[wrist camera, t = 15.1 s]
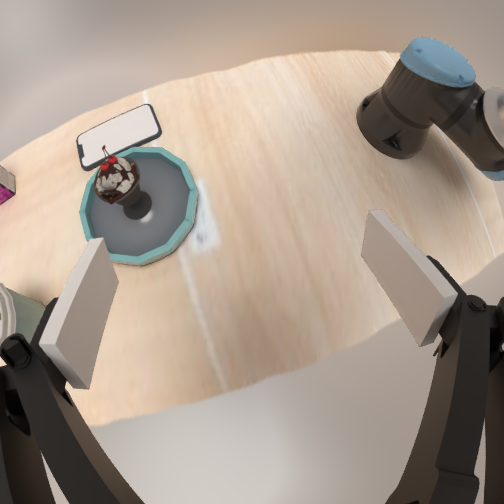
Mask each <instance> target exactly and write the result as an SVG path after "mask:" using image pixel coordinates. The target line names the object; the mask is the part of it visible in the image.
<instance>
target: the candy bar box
mask: <svg viewBox="0 0 504 504" xmlns="http://www.w3.org/2000/svg"><path fill="white" fill-rule="evenodd" d="M13 195H15V176H14V175H12V174H11V173H10V172H8V171H7V170H6V169H5V168H3V167H2V166H1V165H0V204H2V203H3V202H4V201H6V200H7V199H9V198H10V197H12V196H13Z"/></svg>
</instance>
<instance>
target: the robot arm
mask: <svg viewBox="0 0 504 504" xmlns="http://www.w3.org/2000/svg"><path fill="white" fill-rule="evenodd" d="M475 77H476V76H475V71H474V69H473V67H472V66H471V65H470V64H469V63H467V60H466V59H465V58H464V57H463V56H462V55H461V54H460V53H459V52H457V51H456V50H454V49H453V48H451V47H450V46H448V45H446V44H445V43H442V42H440V41H438V40H435V39H431V38H426V37H421V38H417V39H414V40H413V41H411V43H410V44H409V45H408V47H407V48H406V49H405V50H404V51H403V52H402V53H401V55H400V59H399V61H398V62H397V64H396V65H395V67H394V69H393V70H392V72H391V73H390V75H389V76H388V78H387V79H386V81H385V83H384V84H383V86H382V87H381V88H379V89H377V90H376V91H374V92H373V93H371V94H370V95H368V96H367V97H366V98H365V99H364V100H363V101H362V103H361V104H360V106H359V108H358V110H357V122H358V125H359V128H360V130H361V132H362V133H363V135H364V136H365V138H366V139H367V140H368V141H369V142H370V143H371V144H372V145H373V146H374V147H375V148H376V149H378V150H379V151H381V152H382V153H384V154H386V155H388V156H391V157H394V158H398V159H407V158H410V157H412V156H414V155H415V154H416V153H417V152H418V151H419V150H420V149H421V148H422V146H423V144H424V142H425V139H426V137H427V134H428V131H429V128H430V127H431V126H432V125H433V123H434V124H435V125H437V126H438V127H439V128H440V129H441V130H442V131H443V132H444V133H445V134H446V135H447V136H448V137H449V138H450V139H451V140H452V141H453V142H454V143H455V144H456V145H457V146H458V147H459V148H460V150H461V151H462V152H463V153H464V154H465V155H466V156H467V157H468V158H469V159H470V161H471V162H472V163H473V164H474V166H475V167H476V168H477V169H479V170H480V171H481V172H482V173H483V174H484V175H485V176H486V177H487V178H489V179H491V180H494V181H501V180H504V89H502V88H499V87H492V88H490V89H488V90H487V91H484V90H483V89H482V88H481V87H480V86H479V85H478V84H477V83H476V82H475ZM361 256H362V258H363V259H364V261H365V262H366V264H367V265H368V267H369V268H370V269H371V271H372V272H373V274H374V275H375V277H376V278H377V280H378V281H379V283H380V284H381V286H382V287H383V289H384V290H385V292H386V294H387V295H388V297H389V298H390V300H391V301H392V303H393V304H394V306H395V308H396V309H397V311H398V312H399V314H400V316H401V317H402V319H403V320H404V322H405V323H406V325H407V327H408V329H409V330H410V332H411V334H412V335H413V337H414V339H415V340H416V342H417V344H418V346H419V347H421V346H425V345H428V344H431V343H433V342H434V340H435V339H436V337H437V335H438V333H439V334H440V335H441V337H442V340H441V342H440V344H439V346H438V347H437V349H436V351H435V353H434V354H433V356H435V355H436V354H437V353H438V356H437V361H436V366H435V371H434V376H433V380H432V385H431V388H430V392H429V397H428V401H427V405H426V408H425V411H424V415H423V419H422V422H421V425H420V428H419V432H418V434H417V438H416V440H415V443H414V446H413V449H412V452H411V455H410V457H409V460H408V463H407V465H406V468H405V470H404V473H403V475H402V478H401V480H400V482H399V485H398V486H397V488H396V489H395V491H394V492H393V493H392V494H391V495H390V497H389V498H388V500H387V502H386V503H385V504H474V503H475V499H476V496H477V493H478V490H479V478H478V477H476V476H475V475H474V468H475V464H476V460H477V455H478V451H479V446H480V441H481V435H482V430H483V424H484V417H485V436H486V469H485V487H484V504H504V351H503V350H502V345H503V343H504V297H503V298H501V300H500V301H499V303H498V305H497V306H492V305H487V304H486V303H485V302H484V301H483V300H482V299H481V298H479V297H477V296H474V295H466V293H465V292H464V291H463V290H462V289H461V287H460V286H459V285H458V284H457V283H456V281H455V280H454V279H453V278H452V277H451V276H450V274H449V273H448V272H447V271H446V270H444V268H443V266H442V265H441V264H440V263H439V262H438V261H437V260H435V259H433V258H432V257H430V256H425V255H424V253H423V252H422V251H421V250H420V249H419V248H418V247H417V246H416V245H415V244H414V243H413V242H412V241H411V239H410V238H409V237H408V236H407V235H406V234H405V233H404V232H403V231H402V230H401V229H400V228H399V227H398V226H397V225H396V224H395V223H394V222H393V221H392V220H391V219H390V218H389V217H388V216H387V215H386V214H385V213H384V212H383V211H382V210H368V216H367V223H366V229H365V235H364V241H363V246H362V252H361ZM118 283H119V281H118V278H117V275H116V273H115V270H114V267H113V265H112V262H111V259H110V256H109V253H108V250H107V247H106V244H105V241H104V238H96V239H90V240H89V242H88V244H87V245H86V247H85V249H84V251H83V252H82V254H81V256H80V258H79V260H78V261H77V263H76V265H75V267H74V269H73V271H72V273H71V275H70V277H69V278H68V280H67V282H66V284H65V286H64V288H63V290H62V292H61V294H60V297H59V298H54V299H53V300H52V301H51V302H50V303H49V304H48V305H47V307H46V309H45V311H44V313H43V317H41V320H40V322H39V323H40V324H38V326H37V328H36V331H35V333H34V335H33V337H32V340H31V342H30V344H29V343H28V341H27V340H26V339H25V337H24V336H23V334H20V333H14V334H12V335H10V336H8V337H7V338H6V339H5V340H4V341H3V342H2V344H1V346H0V357H1V358H2V359H3V360H4V362H5V363H6V364H7V365H5V366H1V367H0V504H56V503H55V500H54V497H53V494H52V491H51V488H50V484H49V481H48V478H47V474H46V470H45V467H44V463H43V459H42V455H41V452H42V454H43V456H44V458H45V460H46V463H47V464H48V466H49V468H50V470H51V472H52V474H53V476H54V478H55V480H56V482H57V483H58V485H59V487H60V489H61V490H62V492H63V494H64V495H65V497H66V499H67V500H68V502H69V504H145V503H144V502H143V501H142V500H141V499H140V498H139V496H138V495H137V494H136V493H135V492H134V491H133V489H132V488H131V487H130V486H129V484H128V483H127V482H126V481H125V479H124V478H123V477H122V475H121V474H120V473H119V471H118V470H117V469H116V468H115V466H114V465H113V463H112V462H111V461H110V459H109V458H108V456H107V455H106V454H105V452H104V451H103V449H102V448H101V446H100V445H99V443H98V442H97V440H96V439H95V437H94V436H93V434H92V433H91V431H90V429H89V428H88V426H87V424H86V423H85V421H84V419H83V418H82V416H81V414H80V412H79V411H78V409H77V407H76V405H75V404H74V402H73V400H72V398H71V396H70V394H69V392H68V391H67V390H66V389H65V385H66V381H68V382H69V384H70V385H71V386H72V387H73V388H76V389H89V388H90V384H91V379H92V375H93V371H94V366H95V362H96V358H97V354H98V350H99V346H100V343H101V339H102V335H103V332H104V328H105V325H106V321H107V318H108V314H109V311H110V308H111V305H112V301H113V298H114V295H115V292H116V289H117V286H118Z"/></svg>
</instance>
